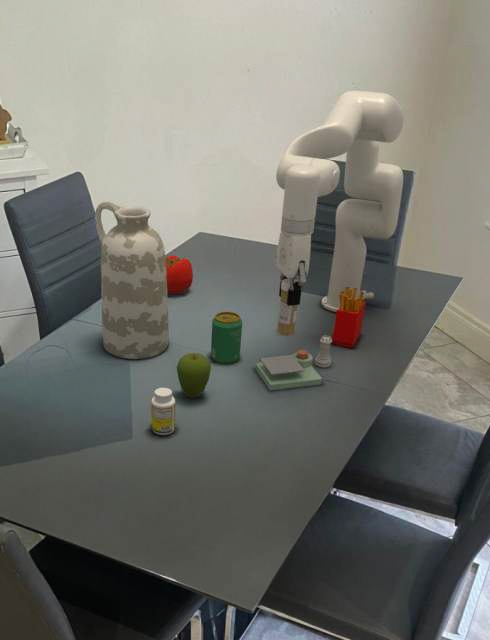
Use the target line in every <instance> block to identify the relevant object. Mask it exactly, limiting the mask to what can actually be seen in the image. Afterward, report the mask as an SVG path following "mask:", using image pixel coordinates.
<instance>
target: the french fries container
mask: <svg viewBox="0 0 490 640" xmlns="http://www.w3.org/2000/svg"><path fill="white" fill-rule="evenodd" d="M360 291H361V292H360V298H359V297H358V298H356V300H355V297H356V292H357V288H354V291H353V290H352V289H350V290H349V287H348V286H347V287H345V295H344V291H341V294H340V295H339V298H340V308H339V310H337V312H335V318H334V325H333V332H332V337H331V339H332V342H331V343H332V344H334V346H335V345H336V346H339V347H340V346H342V347H346V348H354V347H355V345H356V343H357V341H358V340H359V338H360V336H361V333H362V327H363V323H364V321H363V320H364V316H365V310H366V306H367V305H366V304H367V301H365V299H364V298H363V293H364V291H365V290H360ZM352 292H353V296H352ZM351 298H352V300H351Z"/></svg>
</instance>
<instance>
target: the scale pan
mask: <svg viewBox="0 0 490 640" xmlns="http://www.w3.org/2000/svg"><path fill="white" fill-rule="evenodd" d="M259 361H260V363H263V364H264V366H265V367H266V368H267V370H268V371H269V373H270V374H271V375H279V374H288V373H296V372H305V370H304V369H303V368H302V366H301V365H300V364H299V363H298V361H297V360H296V359H295V358H294V356H293V355H292V354H286V355H277V356H269V357H260V358H259Z"/></svg>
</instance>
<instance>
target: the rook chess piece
mask: <svg viewBox="0 0 490 640" xmlns="http://www.w3.org/2000/svg"><path fill="white" fill-rule="evenodd" d="M319 342H320V344H319V347H320V348H319V352H318V354H317V355H316V357H315V358H314V365H315V366H316V367H317V368H322V369H325V368H326V369H327V368H329V367H330V366H331V365H332V358H331V355H330V349H331V343H332V336H331V335H327V334H326V335H322V336H321V338H320V339H319Z"/></svg>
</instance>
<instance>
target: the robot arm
mask: <svg viewBox="0 0 490 640" xmlns="http://www.w3.org/2000/svg"><path fill="white" fill-rule="evenodd" d="M404 116H405V115H404V111H403V108H402V105H400V104H399V102H398V101H397V100H396V98H394V97H393V96H392V95H390V94H388V93H386V92H376V91H363V90H349V91H346V92H343V93H342V94H341V95H339V96H338V98H337V100H336V101H335V103H334V104H333V106H332V108H331V109H330V110H329V113H328V114H327V117H326V118H325V120H324V121H323V123H322V125H321V126H318V127H316V128H313V129H311V130H309V131H307V132H305V133H303V134H302V135H300V136H297V138H295V139H294V140H292V141H291V143H290V144H289V145H288V146H287V148H286V149H285V151H284V153H283V155H282V157H281V158H280V160H279V163H278V166H277V169H276V174H275V175H276V176H275V178H276V179H275V180H276V183H277V185H278V187H279V188H280V189H282V190H283V191H284V192H283V201H282V212H281V222H280V223H281V224H280V233H279V237H278V243H277V248H276V249H277V250H276V256H275V258H276V259H275V266H276V268H277V269H278V270H279V271H280V276H279V280H280V281H279V291H278V297H280V298H281V283H282V280H284V279H287V278H288V279H290V289H288V297H287V305H288V306H292V305H297V306H299V305H301V297H302V290H303V288H304V285H305V284H307V278H306V277H307V276H308V274H309V269H310V261H311V249H312V247H311V246H312V234H314V230H315V222H316V214H317V206H318V198H320V197H325V196H328V195H330V194H331V193H333V191H334V190H335V189H336V188H337V187H338V185H339V182H340V178H341V171H340V166H339V165H338V164H337V163H336V162H335V161H333V160H331V159H333V158H336V157H339V156H342V155H344V154H346V155H345V167H344V168H345V169H344V179H343V188H344V192H345V194H346V195H347V196H348V197H351V198H348V199H344V200H343V201H341V202H340V203H339V205H337V208H336V211H335V238H334V239H335V240H334V247H333V255H332V262H331V270H330V276H329V283H328V289H327V295H326V296H324V297H323V298H322V299H321V302H320V303H321V306H322V307H323V309H325V310H327V311H329V312H333V313H336V312H337V310H339V308H340V298H339V295H340V294H341V291H344V295H345V287H347V286H348V287H349V290H350V289H352V290H353V291H354V288H357V292H356V297H355V300H356V298H358V297H359V298H360V292H361V291H362V290H361V286H362V281H363V276H364V275H363V274H364V270H365V264H366V259H367V258H366V257H367V244H366V242H365V240H364V238H363V237H366V238H372V239H379V240H388V239H390V238H391V237H392V236H393V235H394V234H395V232H396V229H397V225H398V220H399V215H400V207H401V201H402V194H403V188H404V172H403V169H402V168H401V167H400V166H398V165H395V164H392V163H391V164H390V163H383V162H379V155H380V154H379V153H380V143H393V142H395V141H396V140H397V139H398V138H399V136H401V135H400V134H401V133H402V130H403V127H404V122H405V121H404V120H405V117H404ZM294 279H297V280H298V281H296V282H295V283H294ZM363 291H364V293H363V298H364V300H372V299H374V297H375V294H374V292H367V290H363ZM352 296H353V292H352ZM351 300H352V298H351Z"/></svg>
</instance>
